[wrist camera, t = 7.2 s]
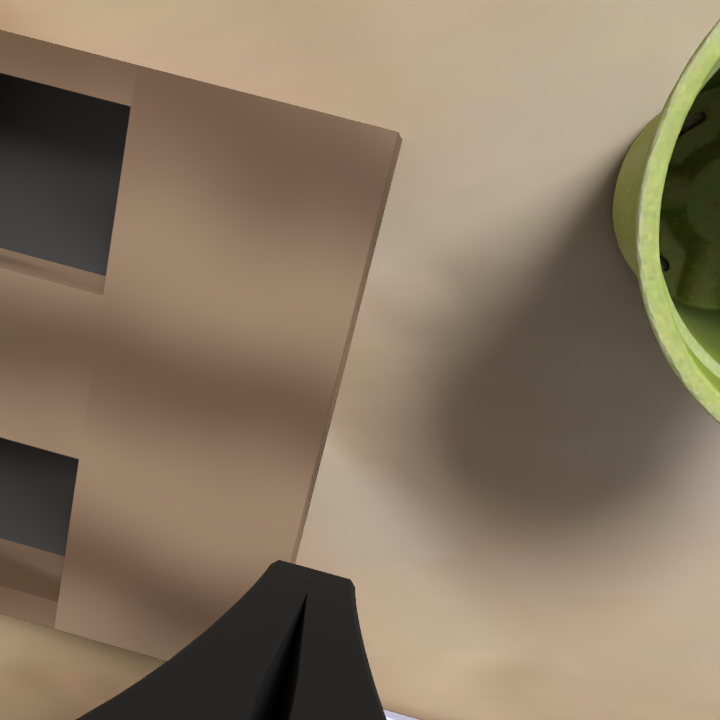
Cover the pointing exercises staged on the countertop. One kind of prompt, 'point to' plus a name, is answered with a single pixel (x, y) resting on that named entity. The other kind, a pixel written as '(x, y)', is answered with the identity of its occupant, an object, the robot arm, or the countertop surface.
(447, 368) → the countertop surface
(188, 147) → the tray
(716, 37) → the plant pot
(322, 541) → the countertop surface
